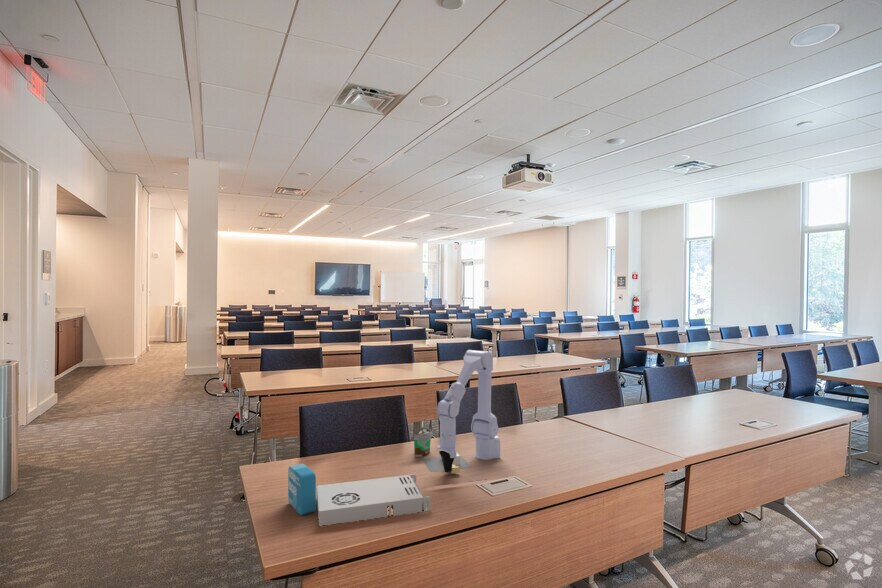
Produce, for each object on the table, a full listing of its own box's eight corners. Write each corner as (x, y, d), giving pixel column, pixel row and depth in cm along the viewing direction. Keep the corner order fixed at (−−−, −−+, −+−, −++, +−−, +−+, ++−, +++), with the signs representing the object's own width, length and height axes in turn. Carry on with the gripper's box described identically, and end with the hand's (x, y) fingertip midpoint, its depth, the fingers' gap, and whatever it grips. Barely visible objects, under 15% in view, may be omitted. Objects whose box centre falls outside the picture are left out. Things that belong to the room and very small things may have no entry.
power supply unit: (430, 512, 141) (430, 496, 141) (318, 529, 131) (318, 511, 131) (416, 488, 159) (416, 473, 159) (316, 501, 149) (316, 485, 149)
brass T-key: (443, 467, 173) (443, 459, 173) (450, 466, 174) (450, 458, 174) (452, 475, 165) (452, 466, 166) (459, 473, 167) (459, 465, 167)
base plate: (459, 457, 187) (459, 454, 187) (471, 469, 174) (471, 467, 174) (421, 461, 183) (421, 458, 183) (430, 474, 169) (430, 471, 169)
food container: (428, 461, 183) (428, 435, 183) (413, 460, 185) (413, 434, 185) (435, 451, 195) (435, 427, 196) (421, 450, 197) (421, 426, 197)
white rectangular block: (453, 457, 184) (453, 448, 185) (460, 465, 176) (460, 456, 176) (441, 458, 183) (441, 449, 183) (447, 466, 174) (447, 457, 174)
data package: (288, 503, 146) (287, 465, 147) (302, 499, 149) (301, 461, 149) (301, 517, 137) (301, 476, 137) (316, 513, 140) (316, 473, 140)
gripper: (431, 429, 173) (431, 465, 173) (442, 440, 159) (442, 480, 159) (449, 427, 175) (449, 463, 175) (462, 438, 161) (462, 478, 161)
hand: (447, 471), depth 167 cm, fingers closed, pressing on brass T-key
